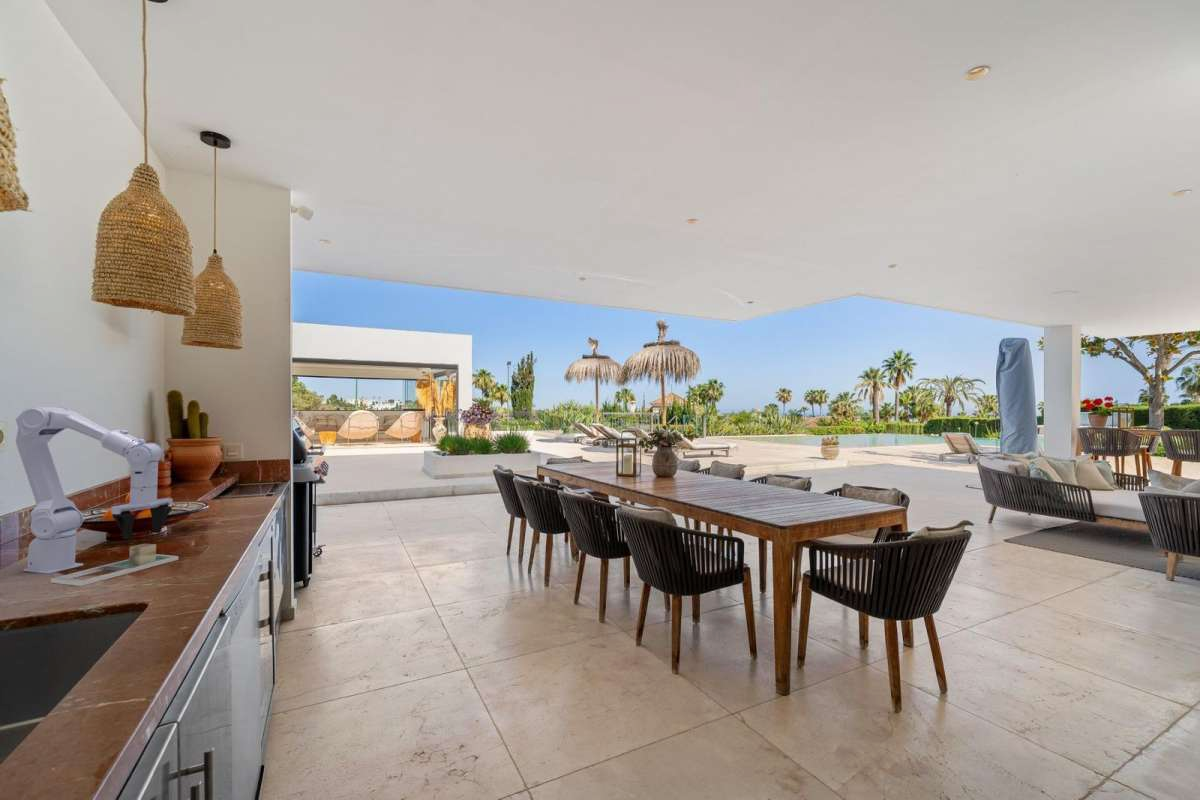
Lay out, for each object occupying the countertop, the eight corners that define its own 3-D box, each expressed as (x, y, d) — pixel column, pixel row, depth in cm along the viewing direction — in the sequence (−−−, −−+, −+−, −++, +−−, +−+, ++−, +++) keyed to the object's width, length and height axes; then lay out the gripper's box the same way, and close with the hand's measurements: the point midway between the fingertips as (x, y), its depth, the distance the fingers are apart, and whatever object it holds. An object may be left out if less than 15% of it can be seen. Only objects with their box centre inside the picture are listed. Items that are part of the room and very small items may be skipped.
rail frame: (50, 582, 130) (50, 578, 130) (151, 557, 153) (151, 553, 153) (80, 586, 128) (80, 581, 128) (178, 559, 151) (178, 556, 151)
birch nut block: (129, 565, 145) (129, 547, 145) (144, 561, 148) (145, 543, 149) (140, 566, 144) (140, 548, 144) (155, 562, 148) (156, 544, 148)
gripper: (126, 491, 139) (124, 542, 138) (181, 484, 153) (179, 530, 152) (106, 489, 140) (104, 540, 140) (162, 482, 154) (160, 529, 154)
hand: (142, 535), depth 146 cm, fingers open, 7 cm apart
